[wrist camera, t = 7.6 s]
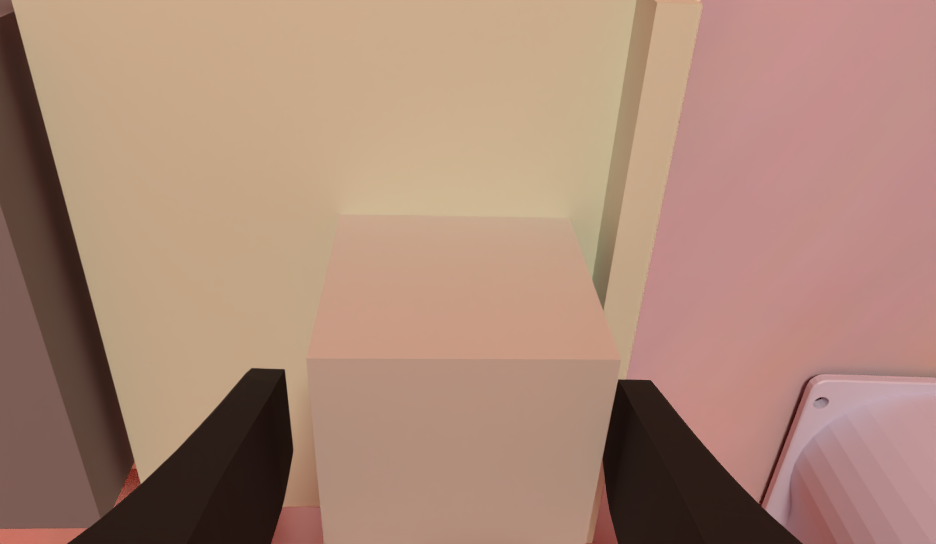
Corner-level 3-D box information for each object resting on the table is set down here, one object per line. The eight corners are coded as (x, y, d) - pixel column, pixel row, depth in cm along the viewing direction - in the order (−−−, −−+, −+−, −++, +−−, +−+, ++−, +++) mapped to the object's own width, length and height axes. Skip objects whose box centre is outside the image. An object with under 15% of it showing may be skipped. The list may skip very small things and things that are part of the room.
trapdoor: (570, 451, 23) (593, 549, 19) (-52, 451, 21) (-133, 556, 18) (650, -29, 15) (706, 7, 12) (-286, -70, 14) (-485, -41, 11)
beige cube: (547, 392, 18) (582, 560, 14) (349, 392, 18) (325, 564, 14) (569, 217, 16) (621, 359, 12) (339, 213, 16) (306, 358, 11)
